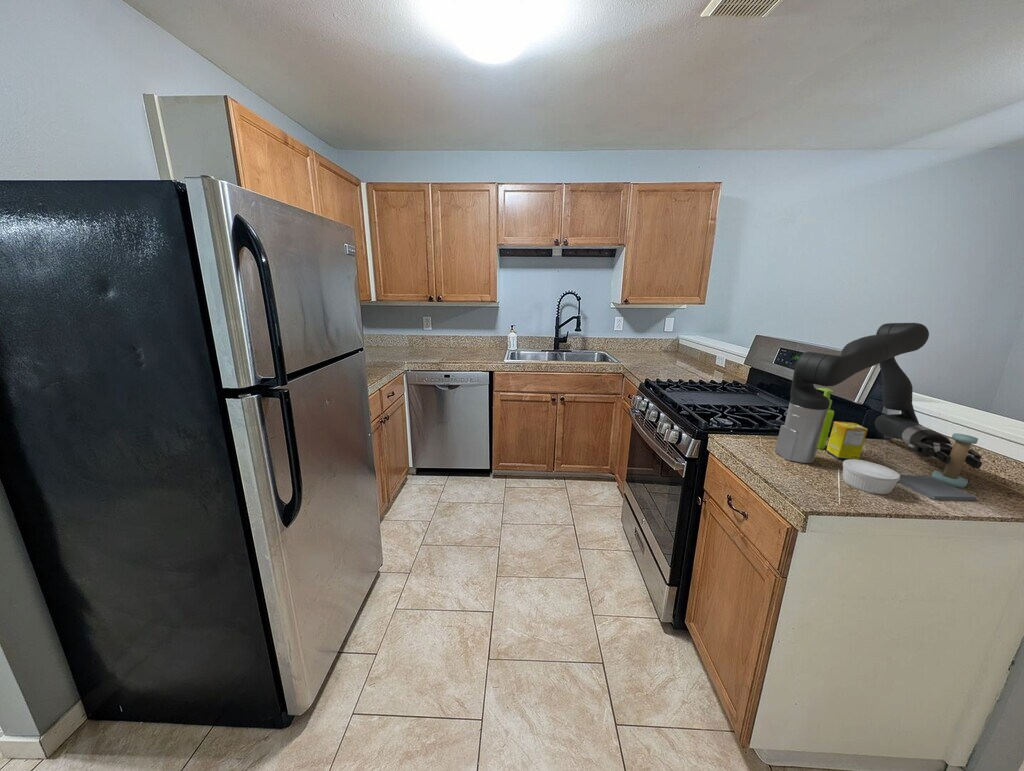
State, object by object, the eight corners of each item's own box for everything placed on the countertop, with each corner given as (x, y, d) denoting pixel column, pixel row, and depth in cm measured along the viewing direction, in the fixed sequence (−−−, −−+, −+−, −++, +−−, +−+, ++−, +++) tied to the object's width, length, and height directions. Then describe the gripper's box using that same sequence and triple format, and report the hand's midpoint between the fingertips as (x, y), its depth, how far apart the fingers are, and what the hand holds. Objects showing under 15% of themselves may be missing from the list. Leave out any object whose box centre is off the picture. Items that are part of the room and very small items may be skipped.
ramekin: (855, 493, 94) (860, 475, 92) (829, 473, 104) (833, 456, 103) (906, 500, 92) (913, 481, 90) (874, 478, 102) (880, 461, 101)
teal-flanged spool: (950, 487, 98) (968, 440, 95) (924, 475, 105) (940, 431, 101) (973, 488, 98) (992, 441, 95) (945, 476, 105) (962, 432, 101)
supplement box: (845, 453, 118) (854, 422, 115) (858, 461, 112) (868, 429, 109) (824, 451, 119) (833, 420, 116) (837, 459, 113) (846, 427, 110)
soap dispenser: (814, 441, 127) (828, 387, 122) (828, 449, 121) (844, 392, 116) (796, 440, 128) (810, 386, 123) (810, 448, 121) (825, 391, 116)
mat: (933, 499, 92) (935, 496, 92) (889, 477, 103) (890, 474, 102) (975, 500, 92) (976, 496, 92) (926, 478, 103) (927, 475, 103)
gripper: (898, 425, 114) (931, 445, 99) (961, 433, 109) (1007, 455, 94) (891, 447, 116) (923, 469, 101) (952, 456, 111) (996, 481, 96)
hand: (963, 462), depth 97 cm, fingers open, 5 cm apart
